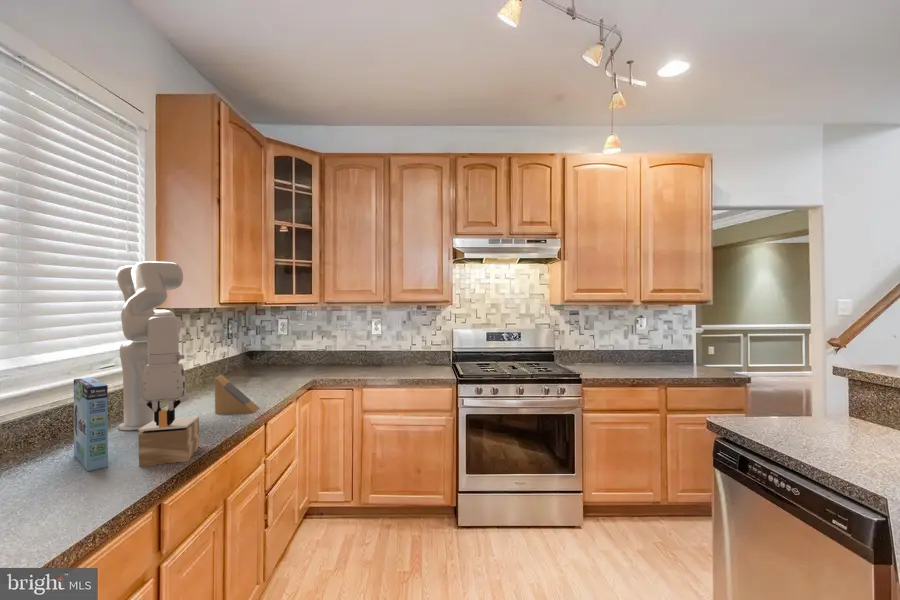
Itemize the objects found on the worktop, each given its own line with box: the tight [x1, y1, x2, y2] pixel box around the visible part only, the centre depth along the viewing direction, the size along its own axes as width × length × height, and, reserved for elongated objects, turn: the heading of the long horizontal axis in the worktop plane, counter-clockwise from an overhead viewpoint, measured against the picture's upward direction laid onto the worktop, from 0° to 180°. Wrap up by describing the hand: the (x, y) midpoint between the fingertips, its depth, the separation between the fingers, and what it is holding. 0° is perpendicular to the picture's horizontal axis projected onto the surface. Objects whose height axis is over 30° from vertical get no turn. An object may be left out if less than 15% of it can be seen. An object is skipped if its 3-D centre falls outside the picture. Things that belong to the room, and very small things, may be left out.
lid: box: [137, 408, 200, 432], centre depth 138 cm, size 14×12×5 cm
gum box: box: [73, 376, 109, 473], centre depth 134 cm, size 20×5×23 cm, turn 47°
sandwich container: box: [214, 374, 260, 415], centre depth 192 cm, size 9×15×15 cm, turn 98°
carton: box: [137, 417, 200, 467], centre depth 138 cm, size 14×12×9 cm
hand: (164, 423), depth 133 cm, fingers closed on lid, 2 cm apart
